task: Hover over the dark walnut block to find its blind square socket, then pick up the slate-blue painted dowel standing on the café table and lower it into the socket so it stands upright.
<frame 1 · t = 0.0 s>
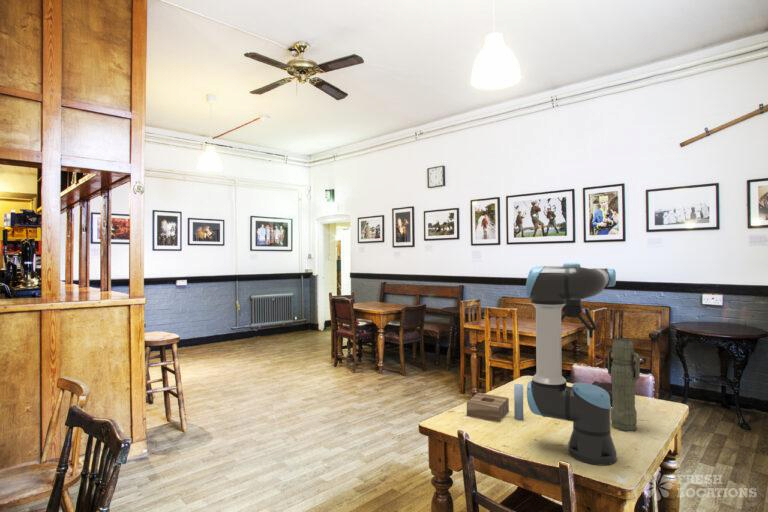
hand: (572, 343, 197), 28 cm above the table, fingers open, 13 cm apart
dowel pin: (518, 418, 181), on the table
bore block: (488, 413, 187), on the table
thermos: (624, 427, 171), on the table
travel mug: (546, 404, 198), on the table
diary: (606, 400, 204), on the table
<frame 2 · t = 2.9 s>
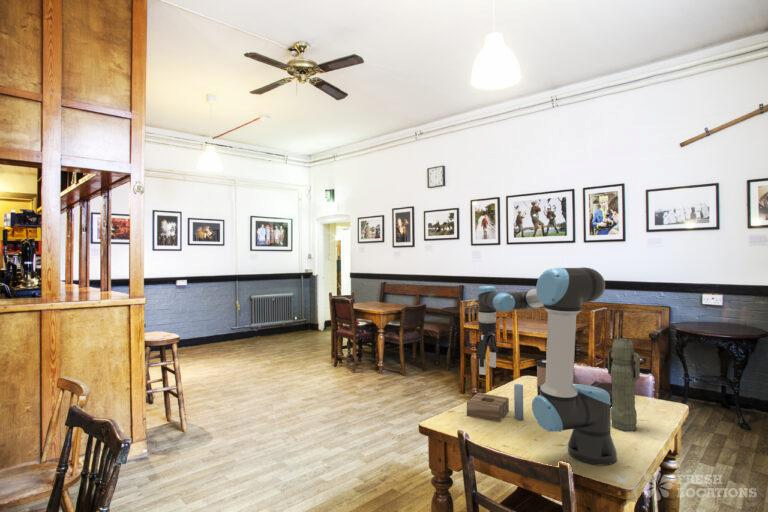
hand: (487, 370, 187), 19 cm above the table, fingers open, 13 cm apart
nothing on the table moved.
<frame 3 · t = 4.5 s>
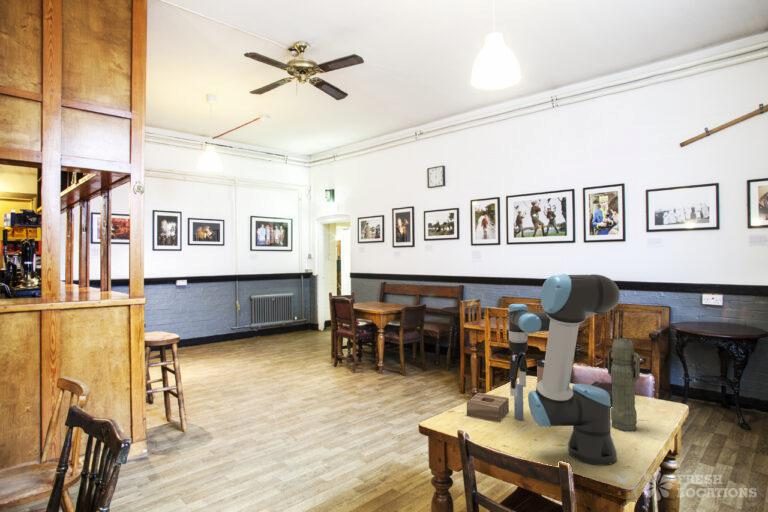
hand: (518, 391, 181), 11 cm above the table, fingers open, 13 cm apart
nothing on the table moved.
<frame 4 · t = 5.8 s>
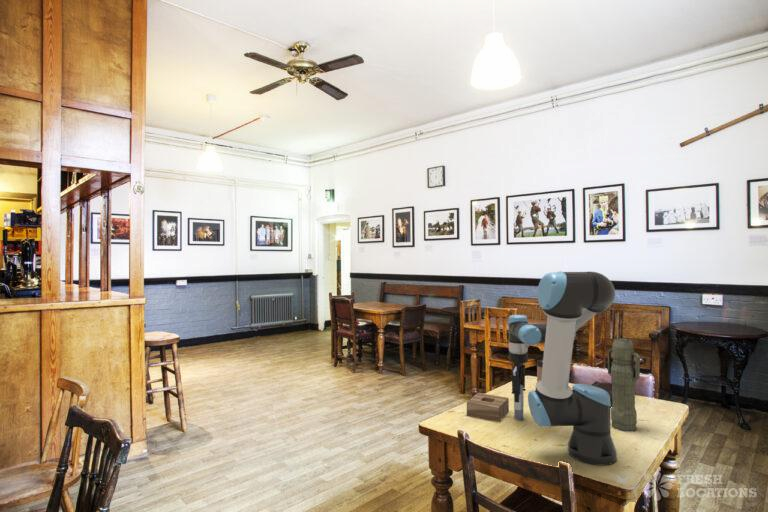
hand: (518, 407, 181), 5 cm above the table, fingers closed on dowel pin, 3 cm apart
dowel pin: (518, 418, 181), on the table, touching gripper
everything else where it was.
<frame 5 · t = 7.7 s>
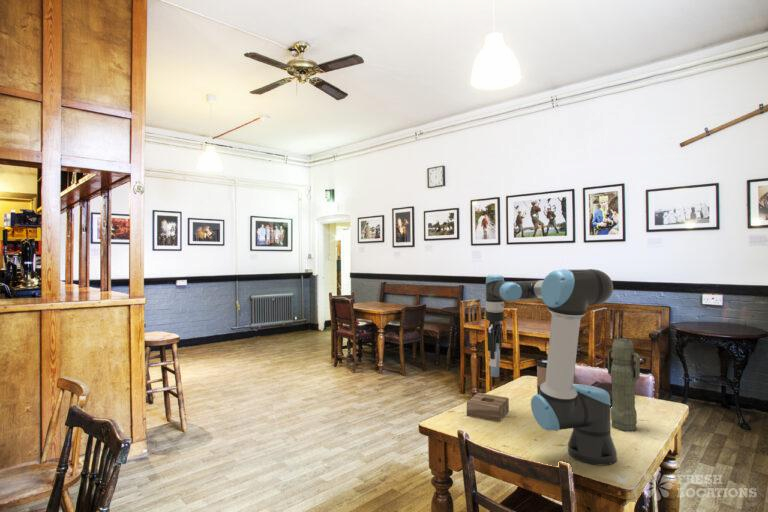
hand: (494, 364, 186), 21 cm above the table, fingers closed on dowel pin, 3 cm apart
dowel pin: (494, 375, 186), point 17 cm above the table, touching gripper
everything else where it was.
when the fingers open (8 cm above the table, at t = 9.9 s): dowel pin stays where it is, resting on bore block.
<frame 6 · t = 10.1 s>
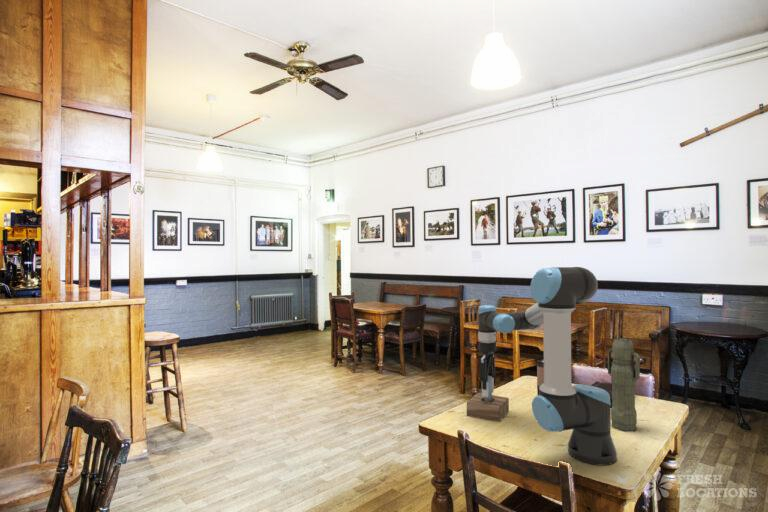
hand: (487, 394, 187), 8 cm above the table, fingers open, 6 cm apart
dowel pin: (488, 408, 187), point 2 cm above the table, touching bore block
everything else where it was.
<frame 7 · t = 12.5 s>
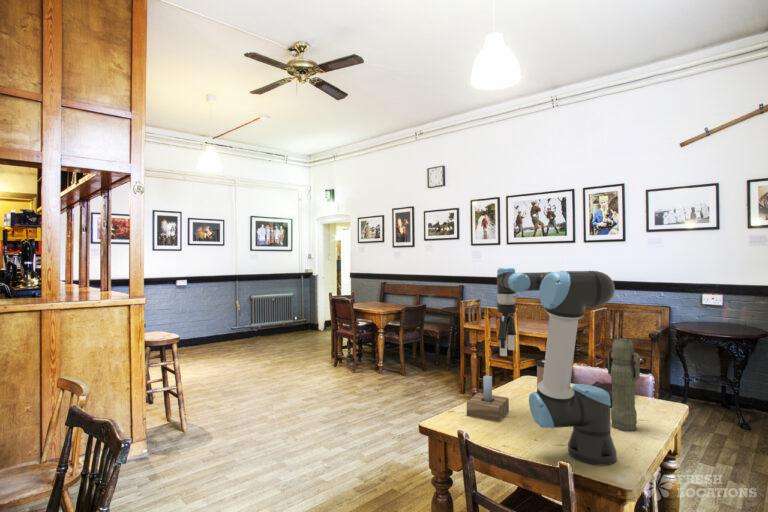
hand: (507, 352, 185), 27 cm above the table, fingers open, 13 cm apart
nothing on the table moved.
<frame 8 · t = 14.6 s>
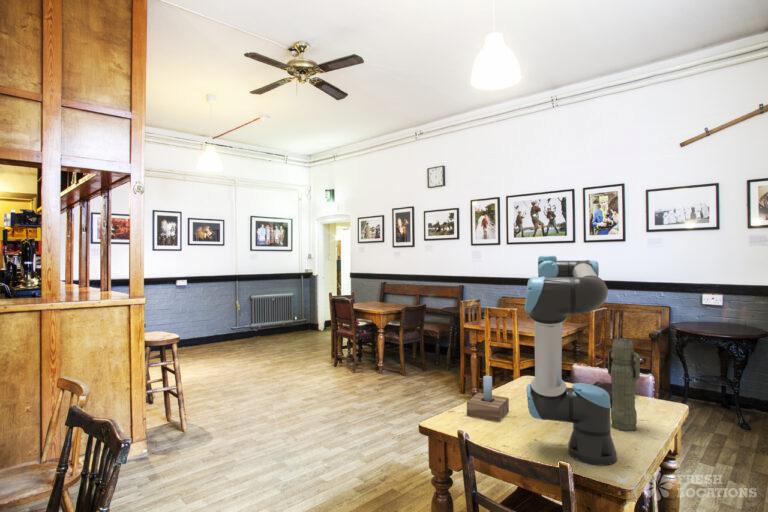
hand: (548, 341, 184), 32 cm above the table, fingers open, 13 cm apart
nothing on the table moved.
at the end: dowel pin 0.0 cm off-centre on the bore block, point 2.0 cm above the bore block's base; dowel pin tilted 0°; the gripper is holding nothing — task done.
